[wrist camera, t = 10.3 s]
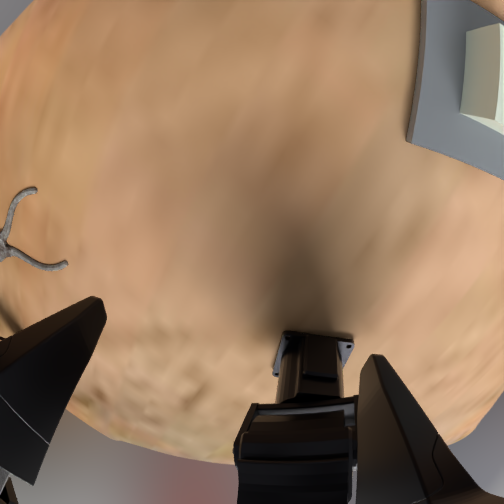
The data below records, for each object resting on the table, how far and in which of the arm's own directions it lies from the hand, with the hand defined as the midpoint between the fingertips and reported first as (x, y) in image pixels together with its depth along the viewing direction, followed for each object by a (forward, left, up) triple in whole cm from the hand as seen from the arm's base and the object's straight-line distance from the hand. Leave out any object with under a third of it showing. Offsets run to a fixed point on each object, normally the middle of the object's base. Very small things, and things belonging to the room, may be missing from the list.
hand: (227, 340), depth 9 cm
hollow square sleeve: (+12, -14, -11) cm, 21 cm away
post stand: (+12, -14, -12) cm, 22 cm away
